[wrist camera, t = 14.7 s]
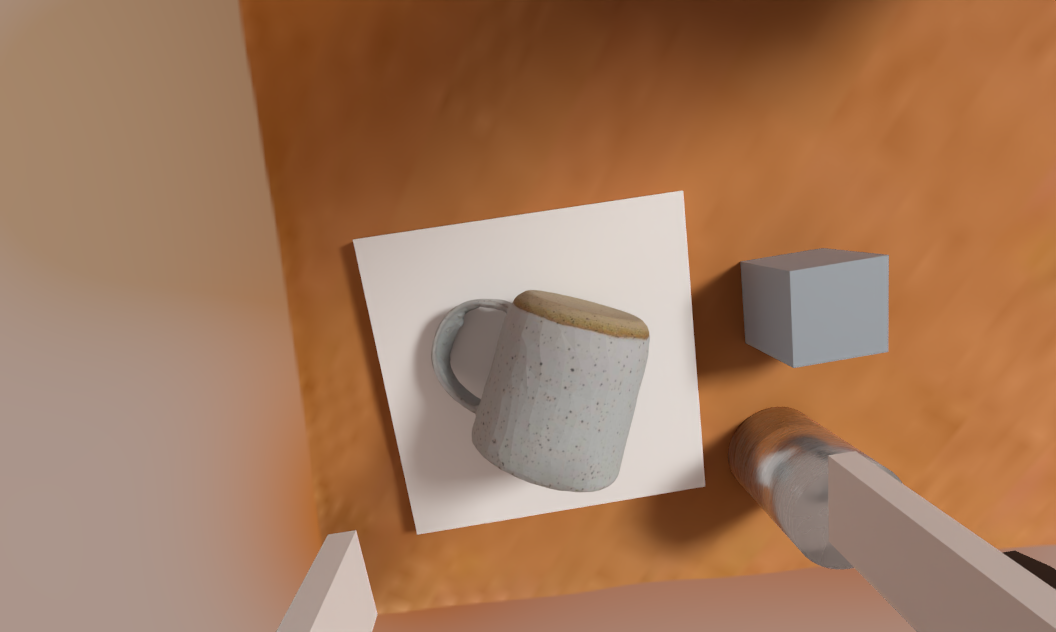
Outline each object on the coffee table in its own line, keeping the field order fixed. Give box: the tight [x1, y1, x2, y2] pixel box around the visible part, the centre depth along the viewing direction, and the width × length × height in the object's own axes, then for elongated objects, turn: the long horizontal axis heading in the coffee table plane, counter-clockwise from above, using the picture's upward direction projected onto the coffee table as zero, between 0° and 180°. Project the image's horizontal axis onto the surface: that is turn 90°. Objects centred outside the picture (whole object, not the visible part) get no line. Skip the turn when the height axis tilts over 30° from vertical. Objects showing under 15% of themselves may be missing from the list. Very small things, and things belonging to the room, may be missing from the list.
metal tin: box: [728, 407, 902, 569], centre depth 28 cm, size 6×6×7 cm
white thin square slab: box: [353, 191, 705, 535], centre depth 29 cm, size 18×18×1 cm
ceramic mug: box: [431, 290, 650, 492], centre depth 24 cm, size 11×8×8 cm
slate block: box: [741, 248, 889, 368], centre depth 27 cm, size 5×5×5 cm
